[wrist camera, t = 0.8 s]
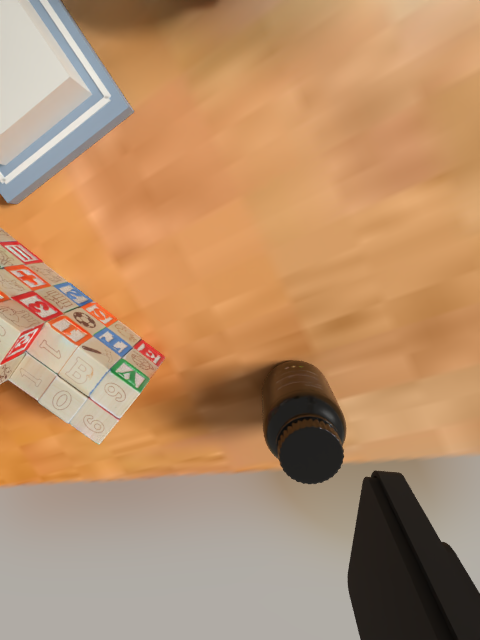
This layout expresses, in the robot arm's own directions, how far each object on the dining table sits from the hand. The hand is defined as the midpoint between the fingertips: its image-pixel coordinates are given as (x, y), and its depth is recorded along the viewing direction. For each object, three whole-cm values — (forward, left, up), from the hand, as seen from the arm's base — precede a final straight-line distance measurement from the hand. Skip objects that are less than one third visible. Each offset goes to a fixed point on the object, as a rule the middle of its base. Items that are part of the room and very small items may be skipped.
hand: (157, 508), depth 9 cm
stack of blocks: (+16, -7, -30) cm, 34 cm away
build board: (+5, -25, -30) cm, 39 cm away
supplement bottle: (0, +12, -30) cm, 32 cm away
